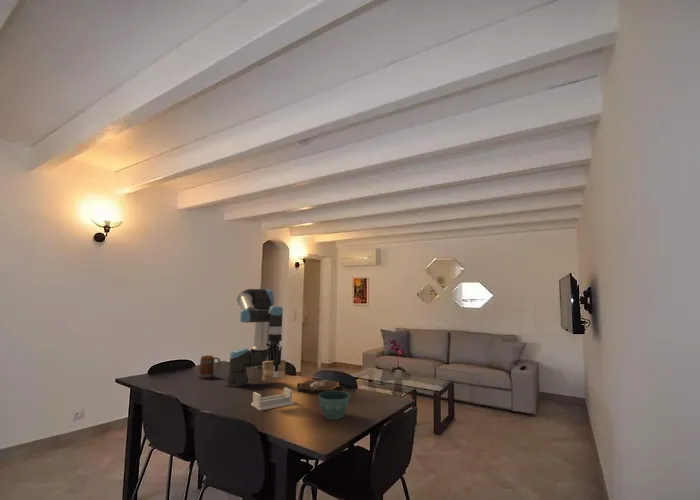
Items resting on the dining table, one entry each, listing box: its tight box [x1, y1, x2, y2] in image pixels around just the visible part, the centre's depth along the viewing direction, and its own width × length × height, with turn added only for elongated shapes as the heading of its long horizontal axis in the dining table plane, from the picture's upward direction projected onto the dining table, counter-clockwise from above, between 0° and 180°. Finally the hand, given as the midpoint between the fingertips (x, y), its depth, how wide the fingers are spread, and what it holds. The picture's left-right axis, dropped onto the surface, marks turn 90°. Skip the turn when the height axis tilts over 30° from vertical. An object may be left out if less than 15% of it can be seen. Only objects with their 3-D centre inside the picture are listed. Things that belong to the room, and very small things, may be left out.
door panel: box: [261, 359, 286, 382], centre depth 210 cm, size 4×12×10 cm, turn 127°
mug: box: [197, 355, 221, 380], centre depth 271 cm, size 16×11×15 cm
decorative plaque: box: [296, 379, 343, 396], centre depth 244 cm, size 30×3×30 cm
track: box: [250, 387, 295, 411], centre depth 208 cm, size 12×20×7 cm, turn 127°
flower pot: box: [318, 390, 351, 421], centre depth 190 cm, size 16×16×11 cm
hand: (273, 376), depth 209 cm, fingers closed on door panel, 4 cm apart
